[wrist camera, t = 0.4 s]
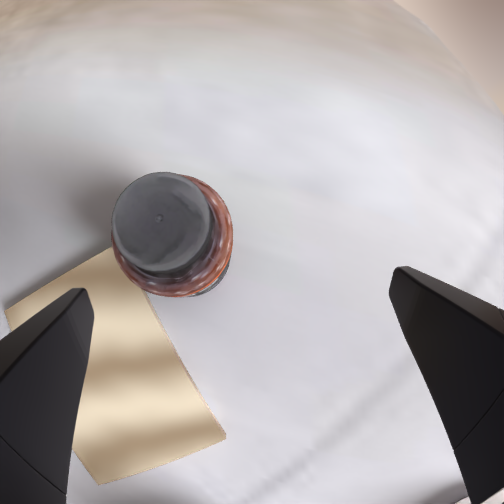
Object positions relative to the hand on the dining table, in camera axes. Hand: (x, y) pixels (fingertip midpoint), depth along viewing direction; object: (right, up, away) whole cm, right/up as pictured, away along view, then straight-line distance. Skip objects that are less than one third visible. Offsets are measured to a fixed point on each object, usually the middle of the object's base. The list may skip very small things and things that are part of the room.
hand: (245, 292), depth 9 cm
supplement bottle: (-4, +1, +15) cm, 15 cm away
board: (-11, -8, +12) cm, 18 cm away
